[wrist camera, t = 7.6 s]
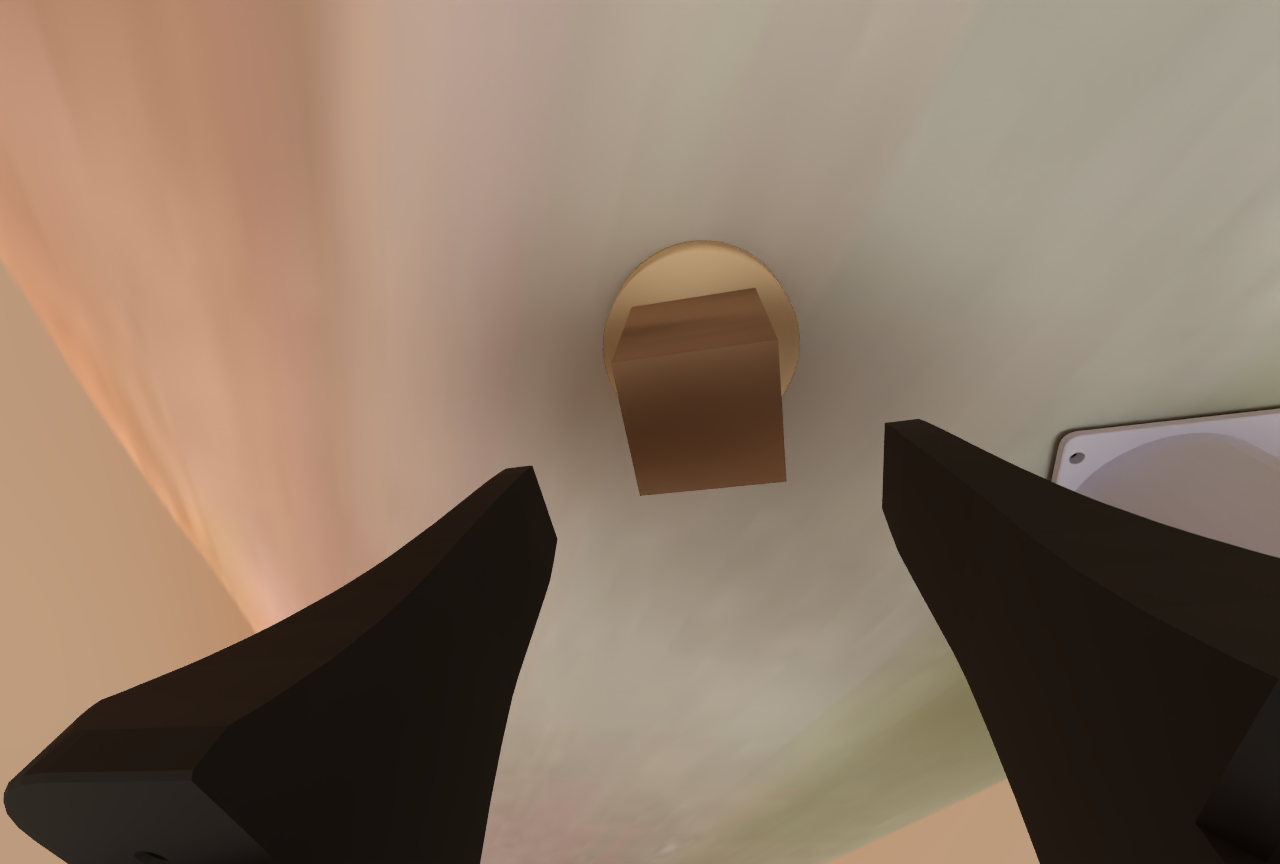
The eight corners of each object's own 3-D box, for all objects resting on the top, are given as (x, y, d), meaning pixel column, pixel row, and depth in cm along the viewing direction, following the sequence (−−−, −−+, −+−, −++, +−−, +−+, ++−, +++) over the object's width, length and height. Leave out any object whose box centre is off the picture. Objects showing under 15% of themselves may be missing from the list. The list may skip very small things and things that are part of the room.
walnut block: (764, 400, 18) (786, 481, 14) (652, 414, 19) (640, 495, 15) (755, 287, 16) (778, 339, 12) (631, 306, 17) (610, 363, 13)
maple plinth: (794, 401, 20) (803, 425, 19) (630, 422, 21) (624, 447, 20) (784, 223, 17) (794, 232, 16) (593, 259, 18) (582, 271, 17)
